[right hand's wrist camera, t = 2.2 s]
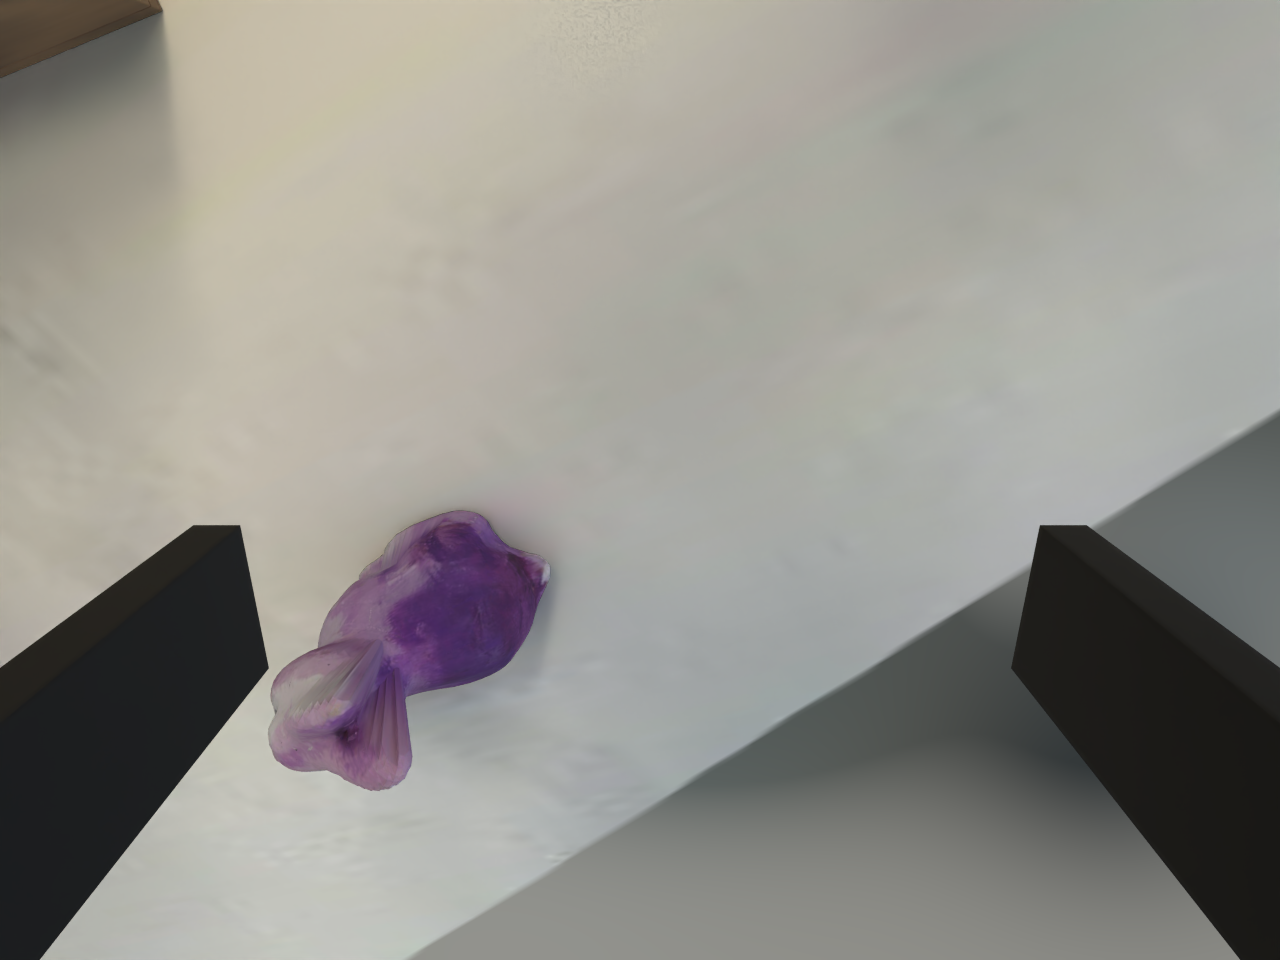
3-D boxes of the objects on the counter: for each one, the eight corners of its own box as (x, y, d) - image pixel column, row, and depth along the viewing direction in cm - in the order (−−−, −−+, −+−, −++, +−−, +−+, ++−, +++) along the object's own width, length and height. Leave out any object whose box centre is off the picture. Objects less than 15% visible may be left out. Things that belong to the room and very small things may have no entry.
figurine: (331, 623, 42) (180, 833, 28) (400, 471, 39) (268, 623, 25) (486, 690, 44) (415, 921, 30) (564, 549, 41) (525, 733, 27)
